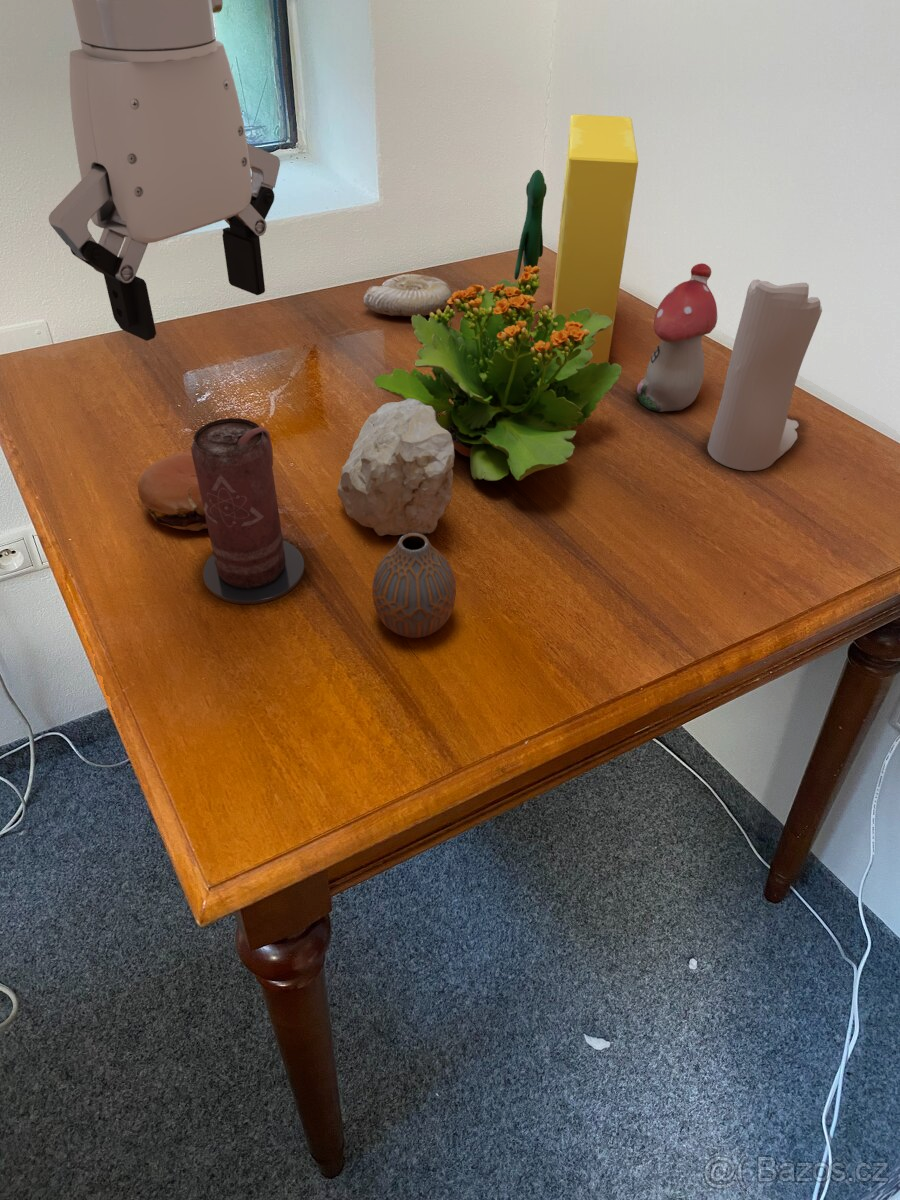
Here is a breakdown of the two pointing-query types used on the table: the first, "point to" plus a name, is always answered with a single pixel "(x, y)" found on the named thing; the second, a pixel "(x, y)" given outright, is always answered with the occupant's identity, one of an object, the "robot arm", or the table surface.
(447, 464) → the stone
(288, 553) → the coaster
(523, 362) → the potted flower
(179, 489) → the burger
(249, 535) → the can
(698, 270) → the decorative ornament
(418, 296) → the fossil
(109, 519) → the table surface
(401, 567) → the vase
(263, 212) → the robot arm
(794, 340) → the candle
